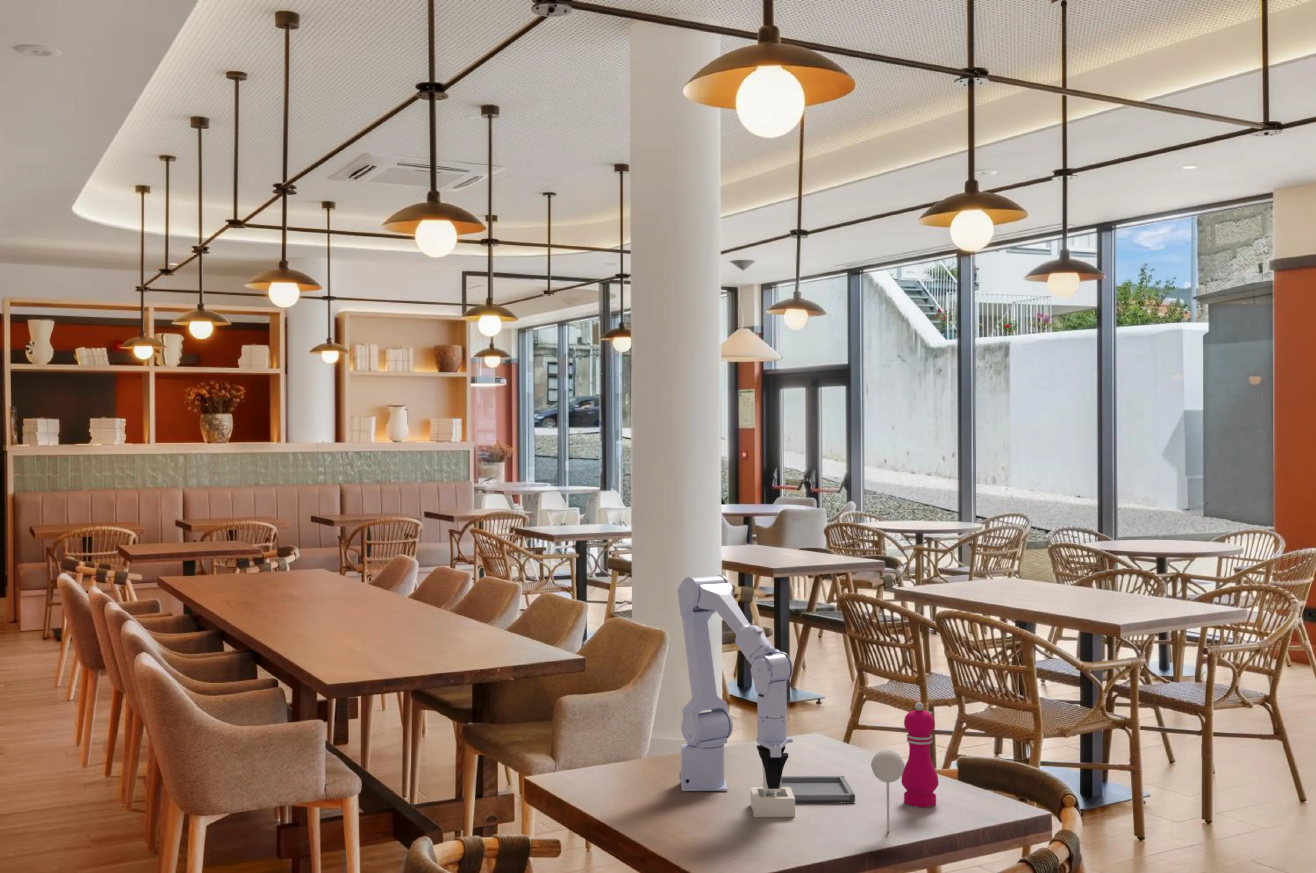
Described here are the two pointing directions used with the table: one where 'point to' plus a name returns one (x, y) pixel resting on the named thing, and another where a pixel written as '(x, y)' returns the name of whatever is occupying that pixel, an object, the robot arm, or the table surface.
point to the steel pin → (770, 792)
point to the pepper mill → (919, 759)
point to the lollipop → (887, 770)
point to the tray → (819, 789)
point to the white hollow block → (772, 803)
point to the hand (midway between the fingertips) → (772, 785)
